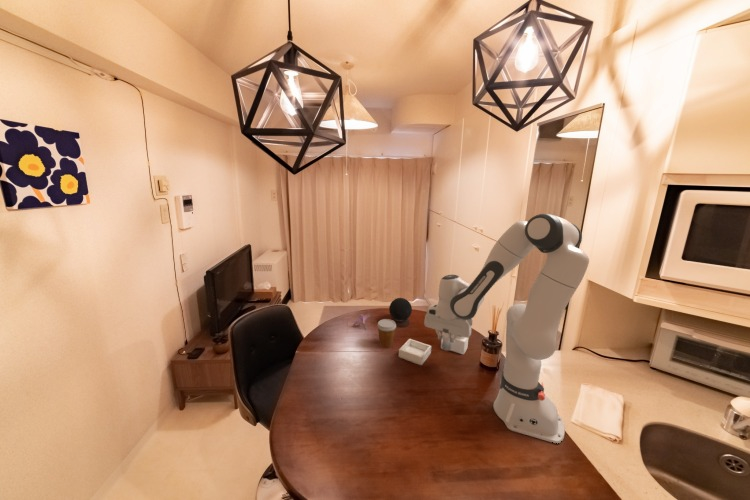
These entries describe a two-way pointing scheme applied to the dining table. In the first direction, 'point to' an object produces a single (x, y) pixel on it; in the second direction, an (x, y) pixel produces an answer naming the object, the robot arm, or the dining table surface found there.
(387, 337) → the disposable coffee cup
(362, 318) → the lily
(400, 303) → the black ball on stand
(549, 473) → the dining table surface
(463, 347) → the medicine bottle
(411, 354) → the white square tray
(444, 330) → the salt shaker
